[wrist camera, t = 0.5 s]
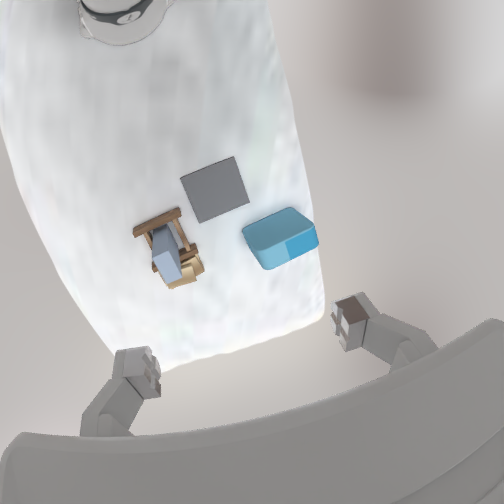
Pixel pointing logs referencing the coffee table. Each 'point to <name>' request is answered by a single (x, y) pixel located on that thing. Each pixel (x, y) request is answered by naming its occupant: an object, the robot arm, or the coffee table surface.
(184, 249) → the rack
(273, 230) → the data package
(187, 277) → the offcut stack
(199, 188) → the felt mat
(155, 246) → the pale blue pillar
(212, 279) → the coffee table surface
